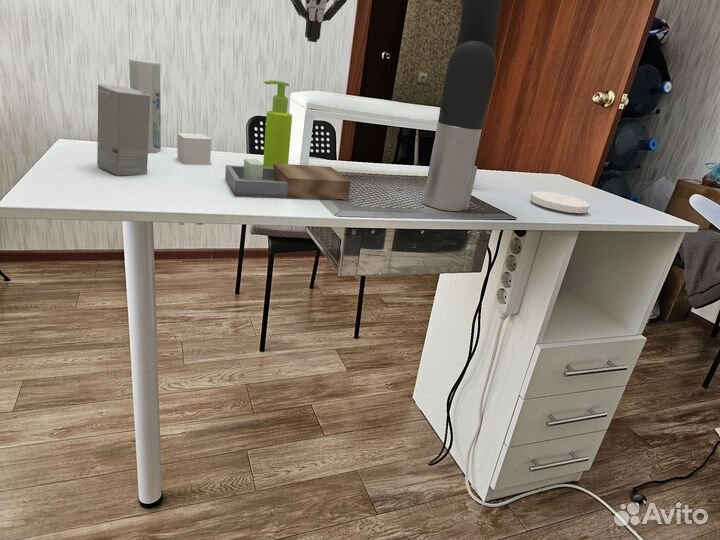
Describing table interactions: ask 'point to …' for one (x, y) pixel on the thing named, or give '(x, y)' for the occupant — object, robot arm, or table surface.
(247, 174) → the tile
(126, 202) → the table surface
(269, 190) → the box
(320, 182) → the brown flat square block
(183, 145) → the white cube
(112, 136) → the skincare box
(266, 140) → the soap dispenser
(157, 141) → the spray can
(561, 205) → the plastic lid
